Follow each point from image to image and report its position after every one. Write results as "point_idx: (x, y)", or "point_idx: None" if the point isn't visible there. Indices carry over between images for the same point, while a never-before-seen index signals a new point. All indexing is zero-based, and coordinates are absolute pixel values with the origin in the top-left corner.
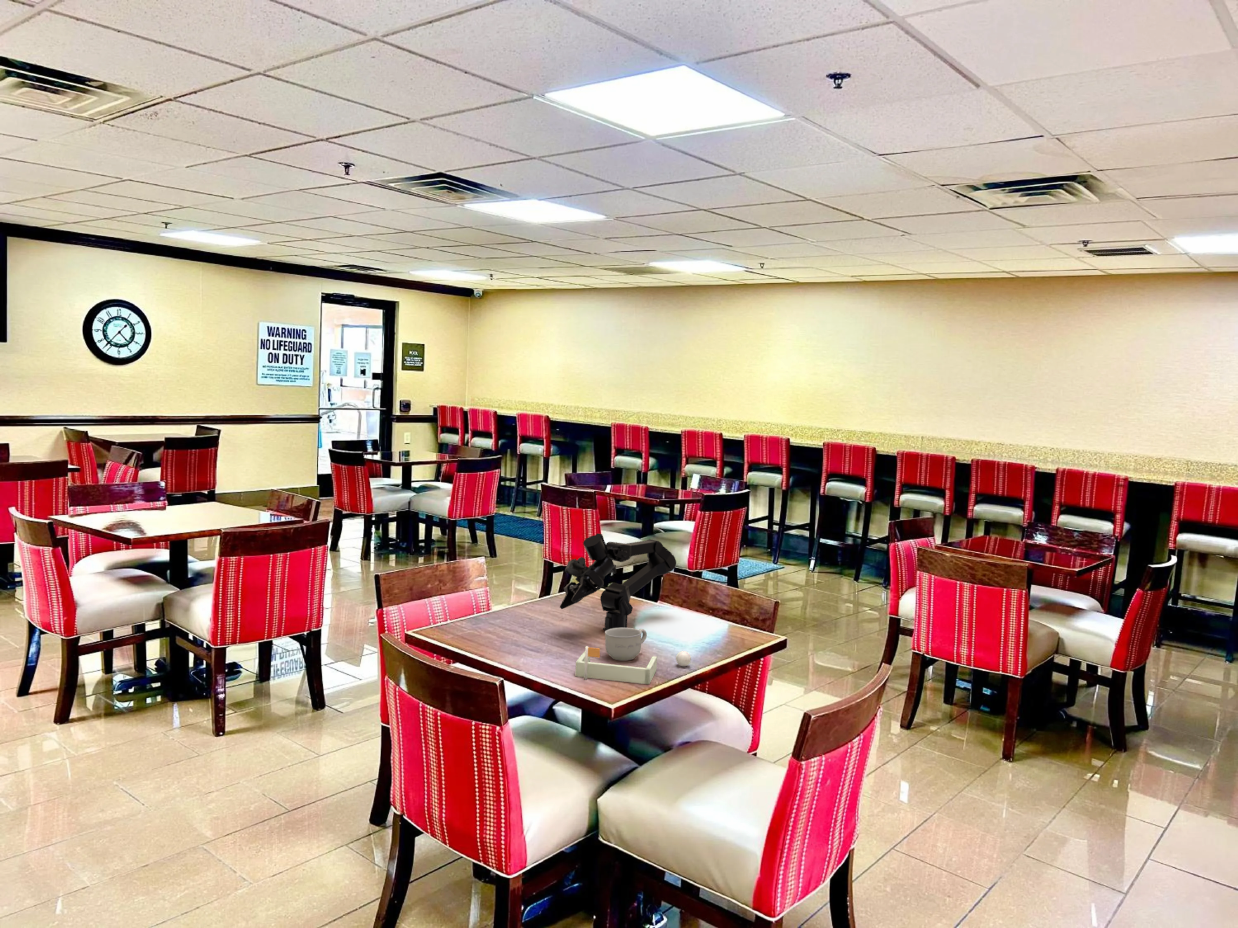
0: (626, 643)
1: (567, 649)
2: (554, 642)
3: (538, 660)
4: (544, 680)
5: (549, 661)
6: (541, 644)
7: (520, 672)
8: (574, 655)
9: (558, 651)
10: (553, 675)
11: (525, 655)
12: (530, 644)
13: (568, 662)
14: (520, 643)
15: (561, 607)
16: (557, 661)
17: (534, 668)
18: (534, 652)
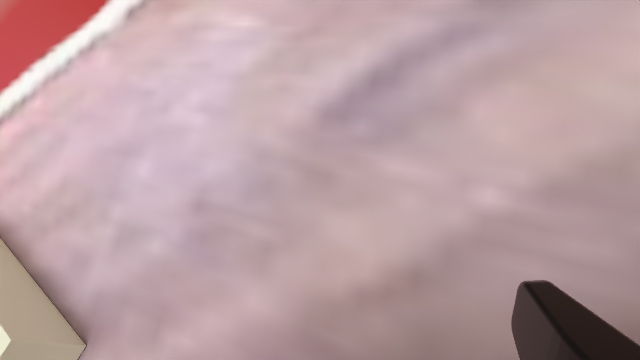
0: None
1: (325, 325)
2: (527, 278)
3: (203, 100)
4: (16, 98)
5: (172, 153)
6: (491, 160)
7: (110, 14)
8: (204, 327)
9: (303, 246)
10: (35, 139)
11: (294, 39)
12: (508, 80)
13: (125, 249)
14: (550, 11)
15: (516, 310)
16: (157, 194)
17: (123, 72)
18: (328, 91)
